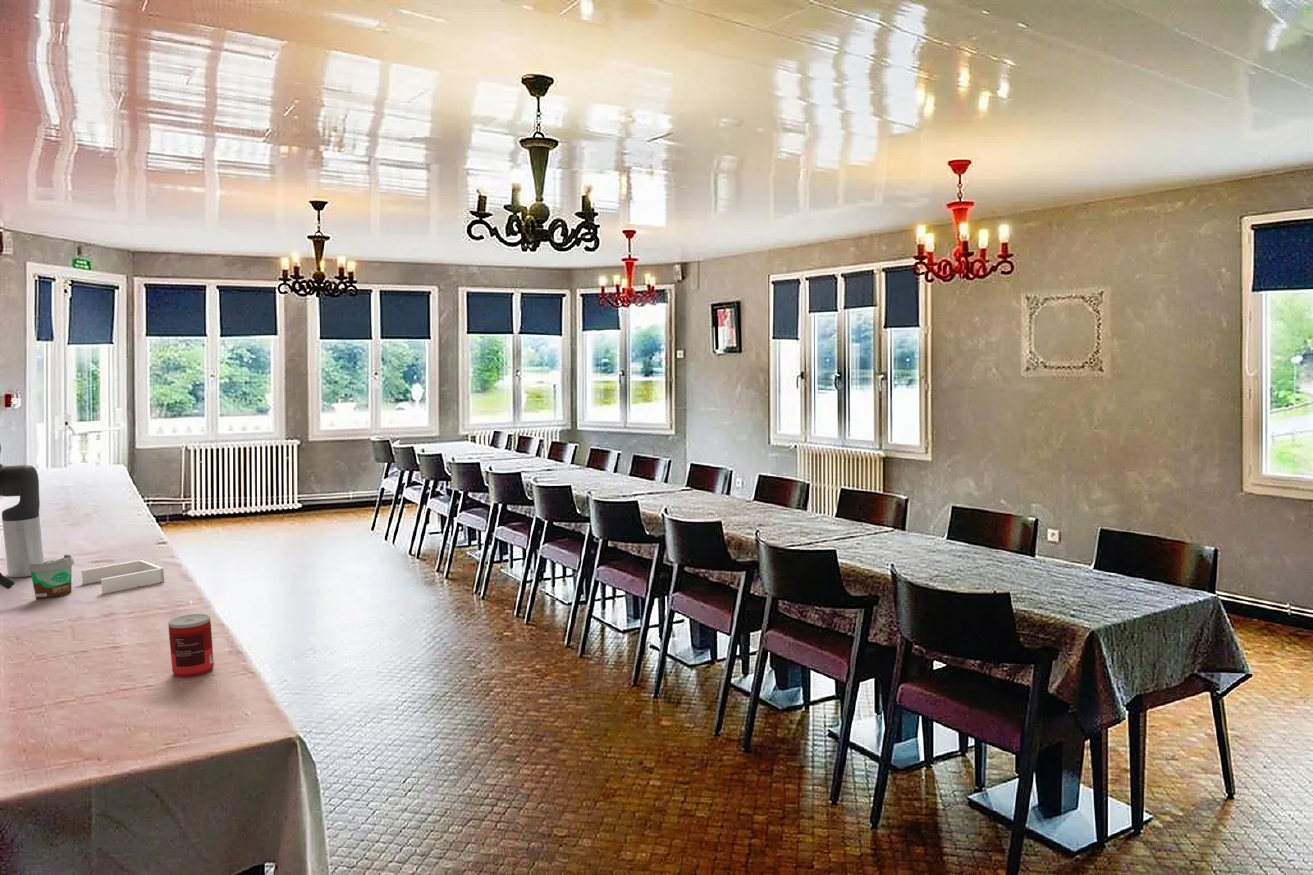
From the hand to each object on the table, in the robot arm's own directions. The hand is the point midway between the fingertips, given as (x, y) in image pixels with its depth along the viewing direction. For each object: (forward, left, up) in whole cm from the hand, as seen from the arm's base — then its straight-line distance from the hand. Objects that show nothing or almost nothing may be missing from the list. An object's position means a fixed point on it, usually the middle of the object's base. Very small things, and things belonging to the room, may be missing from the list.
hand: (11, 585), depth 243 cm
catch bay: (0, +26, -5) cm, 27 cm away
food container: (0, +11, -5) cm, 12 cm away
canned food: (+94, +10, -5) cm, 95 cm away
